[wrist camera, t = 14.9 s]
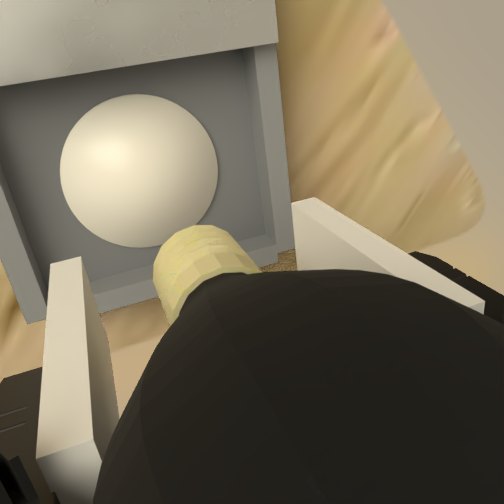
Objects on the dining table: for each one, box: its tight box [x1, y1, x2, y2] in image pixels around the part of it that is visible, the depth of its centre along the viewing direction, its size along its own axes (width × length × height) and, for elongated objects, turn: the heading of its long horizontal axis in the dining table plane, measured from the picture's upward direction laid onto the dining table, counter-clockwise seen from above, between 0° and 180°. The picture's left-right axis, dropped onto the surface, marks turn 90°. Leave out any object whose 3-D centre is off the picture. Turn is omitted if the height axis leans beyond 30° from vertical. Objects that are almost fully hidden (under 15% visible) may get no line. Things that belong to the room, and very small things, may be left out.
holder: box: [0, 43, 295, 324], centre depth 20 cm, size 13×18×3 cm
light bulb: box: [93, 225, 504, 504], centre depth 9 cm, size 7×7×12 cm
